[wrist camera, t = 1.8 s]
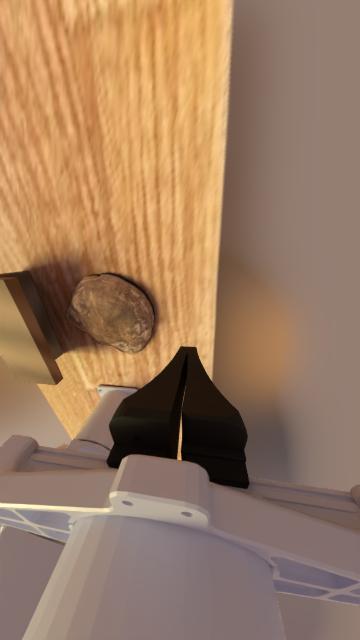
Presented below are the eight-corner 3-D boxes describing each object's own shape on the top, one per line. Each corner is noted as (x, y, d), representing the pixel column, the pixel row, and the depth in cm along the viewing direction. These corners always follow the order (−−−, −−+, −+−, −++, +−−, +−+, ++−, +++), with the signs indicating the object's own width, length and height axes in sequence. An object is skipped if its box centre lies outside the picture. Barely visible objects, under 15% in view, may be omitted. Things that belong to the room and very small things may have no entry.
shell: (89, 250, 19) (67, 250, 16) (172, 306, 21) (167, 316, 18) (67, 317, 24) (46, 327, 20) (136, 357, 26) (127, 373, 22)
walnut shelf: (88, 354, 26) (56, 385, 20) (57, 352, 27) (17, 381, 21) (60, 271, 20) (3, 279, 14) (21, 271, 21) (-49, 279, 15)
